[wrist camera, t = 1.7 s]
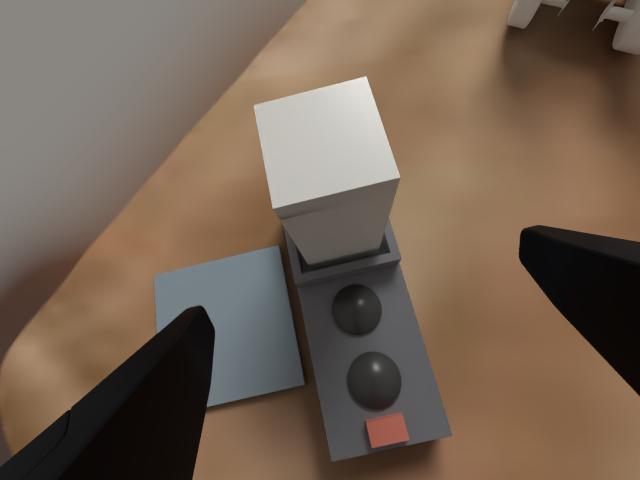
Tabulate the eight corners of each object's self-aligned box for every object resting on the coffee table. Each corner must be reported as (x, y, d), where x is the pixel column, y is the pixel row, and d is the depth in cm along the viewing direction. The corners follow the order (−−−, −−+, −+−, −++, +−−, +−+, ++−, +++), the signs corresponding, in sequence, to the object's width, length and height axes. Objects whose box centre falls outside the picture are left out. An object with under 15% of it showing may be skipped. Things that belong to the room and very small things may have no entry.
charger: (378, 253, 20) (400, 177, 10) (311, 269, 20) (272, 208, 11) (360, 192, 21) (366, 76, 12) (297, 207, 21) (253, 105, 12)
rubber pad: (305, 383, 20) (304, 384, 20) (164, 415, 21) (161, 417, 20) (279, 246, 23) (278, 245, 23) (157, 276, 24) (153, 275, 23)
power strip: (440, 423, 19) (461, 444, 15) (334, 446, 19) (329, 473, 15) (370, 191, 24) (373, 164, 20) (286, 212, 24) (274, 188, 20)
